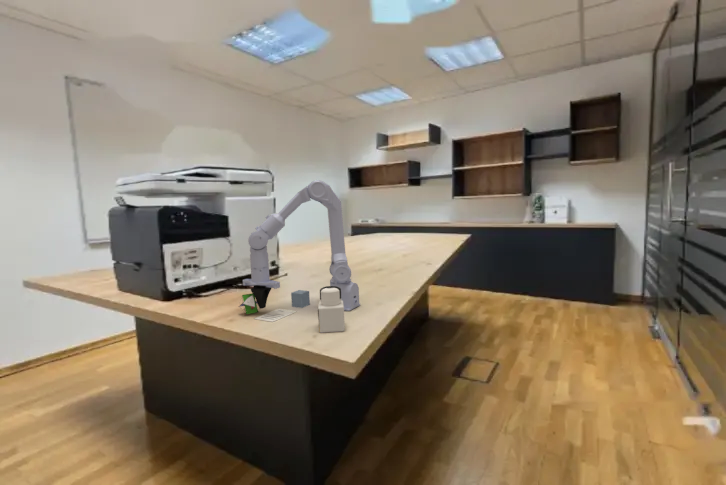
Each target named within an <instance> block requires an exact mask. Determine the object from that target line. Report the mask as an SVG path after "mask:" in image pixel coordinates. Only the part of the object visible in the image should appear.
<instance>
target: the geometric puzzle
mask: <svg viewBox="0 0 726 485" xmlns="http://www.w3.org/2000/svg"><path fill="white" fill-rule="evenodd" d="M241 297H242V298H241V300H242V303H241V304H239V306H238V308H241V307H244V311H243V310H242V311H243V312H244V313H245V314H246V315H250V314H255V313H259V308H258V307H259V306H258V303H257V300H256V298H255V296H254V294H253V293H252V292H251V293H246V294H242V295H241Z"/></svg>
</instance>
